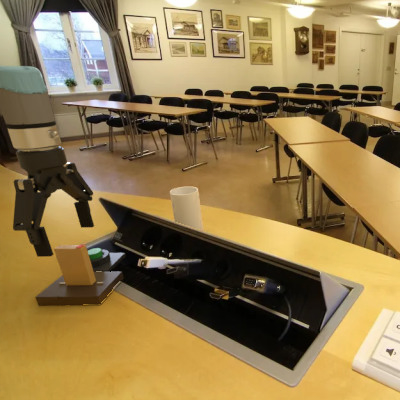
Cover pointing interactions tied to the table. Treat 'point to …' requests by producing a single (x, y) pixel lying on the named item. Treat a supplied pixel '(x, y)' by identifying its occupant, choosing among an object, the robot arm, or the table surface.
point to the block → (107, 261)
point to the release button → (95, 253)
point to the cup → (187, 206)
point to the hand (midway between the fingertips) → (68, 240)
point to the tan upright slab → (75, 264)
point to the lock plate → (79, 291)
